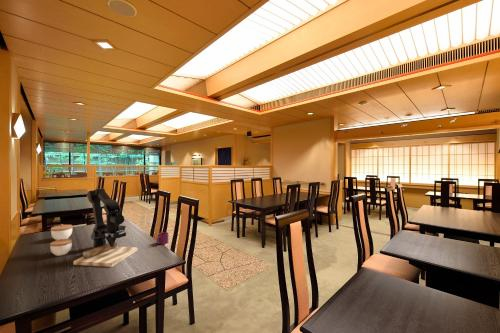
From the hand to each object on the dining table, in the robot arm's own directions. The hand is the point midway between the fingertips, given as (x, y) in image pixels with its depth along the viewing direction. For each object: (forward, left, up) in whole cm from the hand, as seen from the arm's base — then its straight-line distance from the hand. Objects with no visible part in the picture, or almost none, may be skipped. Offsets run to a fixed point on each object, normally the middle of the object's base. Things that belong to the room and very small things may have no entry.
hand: (112, 246), depth 144 cm
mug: (+22, +20, -4) cm, 31 cm away
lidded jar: (-31, -5, -4) cm, 31 cm away
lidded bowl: (-56, +20, -4) cm, 59 cm away
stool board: (+1, -6, -4) cm, 7 cm away
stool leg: (-4, -5, -2) cm, 6 cm away
